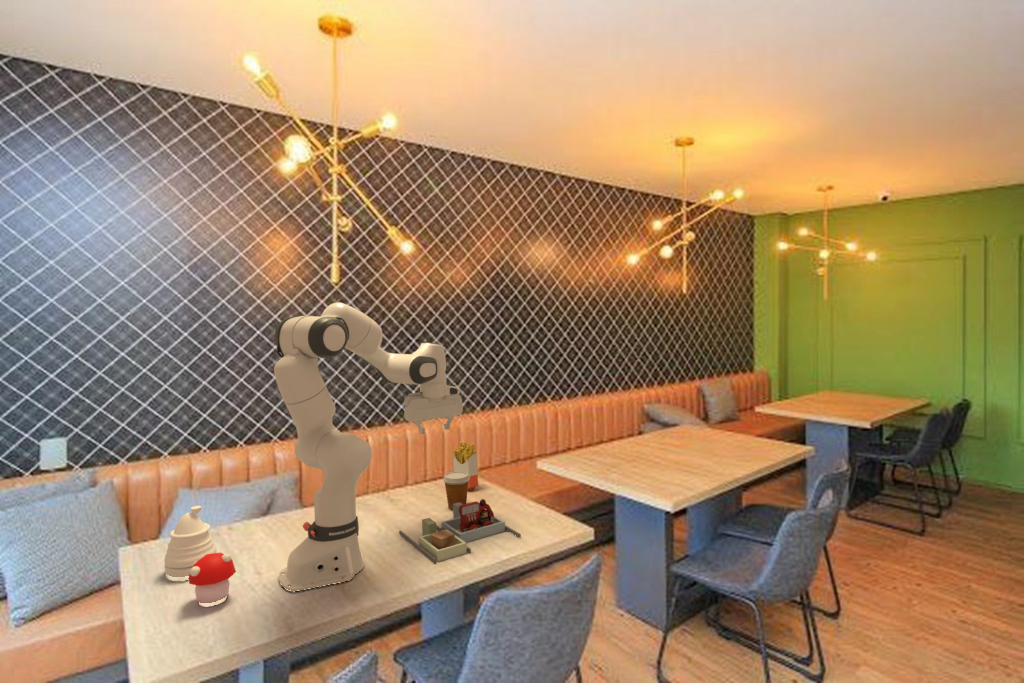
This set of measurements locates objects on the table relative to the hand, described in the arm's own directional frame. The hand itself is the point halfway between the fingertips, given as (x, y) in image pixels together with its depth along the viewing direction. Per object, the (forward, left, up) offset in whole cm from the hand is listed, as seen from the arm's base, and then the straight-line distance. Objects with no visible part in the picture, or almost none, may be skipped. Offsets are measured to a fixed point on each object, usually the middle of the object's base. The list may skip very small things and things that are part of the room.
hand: (434, 431), depth 190 cm
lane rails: (0, -15, -31) cm, 34 cm away
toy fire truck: (+6, -16, -31) cm, 36 cm away
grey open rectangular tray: (+6, -11, -31) cm, 34 cm away
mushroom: (-69, -12, -31) cm, 77 cm away
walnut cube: (-9, -21, -31) cm, 39 cm away
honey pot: (-72, +10, -31) cm, 79 cm away
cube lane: (-9, -18, -31) cm, 37 cm away
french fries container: (+25, +25, -31) cm, 47 cm away
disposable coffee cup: (+12, +8, -31) cm, 34 cm away
